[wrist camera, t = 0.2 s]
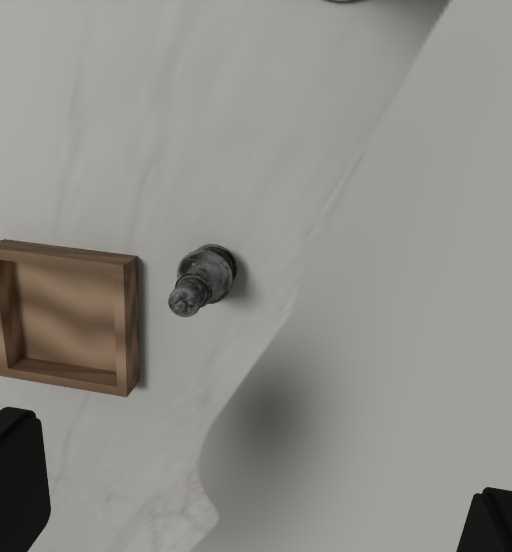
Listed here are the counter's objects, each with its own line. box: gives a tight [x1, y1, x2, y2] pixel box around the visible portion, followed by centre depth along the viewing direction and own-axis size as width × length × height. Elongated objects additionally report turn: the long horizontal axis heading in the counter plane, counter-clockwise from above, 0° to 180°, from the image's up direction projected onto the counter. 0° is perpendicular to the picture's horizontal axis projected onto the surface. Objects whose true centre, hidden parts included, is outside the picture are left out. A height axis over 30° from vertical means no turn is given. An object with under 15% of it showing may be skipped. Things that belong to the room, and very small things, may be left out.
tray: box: [0, 239, 139, 397], centre depth 49 cm, size 16×16×4 cm
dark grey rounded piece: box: [168, 244, 237, 317], centre depth 41 cm, size 6×6×12 cm
